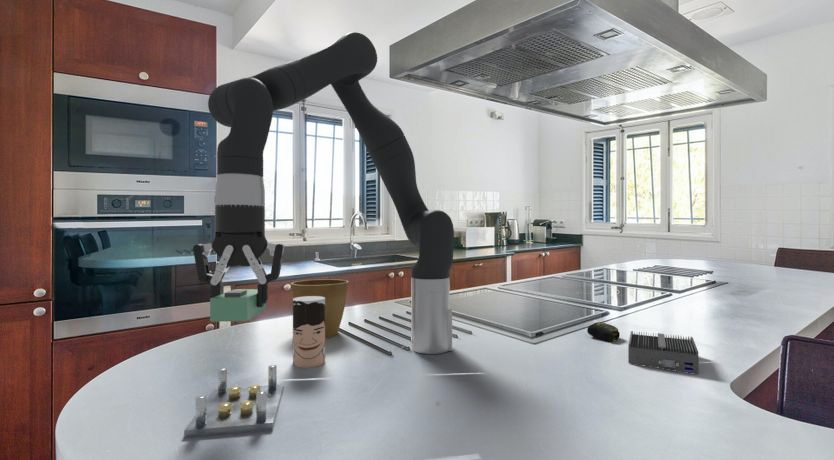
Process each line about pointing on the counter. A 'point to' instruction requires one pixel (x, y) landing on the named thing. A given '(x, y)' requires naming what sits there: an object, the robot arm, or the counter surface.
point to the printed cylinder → (308, 331)
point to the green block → (235, 305)
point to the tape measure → (603, 331)
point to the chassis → (236, 408)
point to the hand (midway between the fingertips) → (240, 306)
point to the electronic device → (663, 352)
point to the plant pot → (326, 299)
